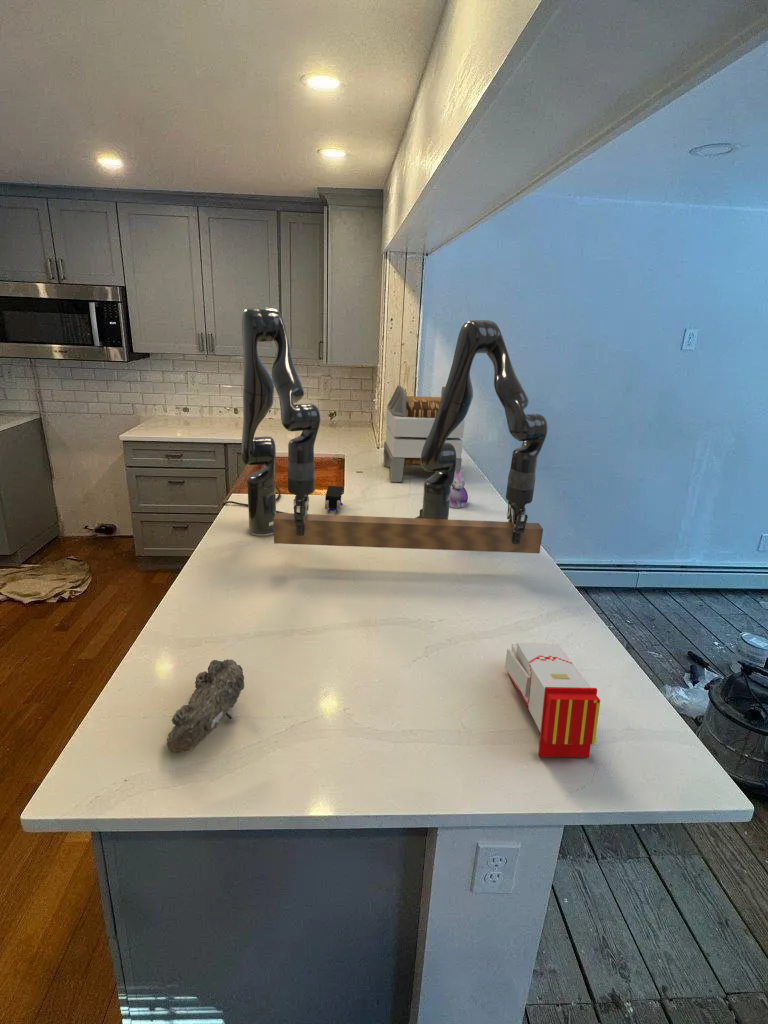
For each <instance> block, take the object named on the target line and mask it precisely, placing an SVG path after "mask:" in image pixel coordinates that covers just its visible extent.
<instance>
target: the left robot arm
mask: <svg viewBox="0 0 768 1024" xmlns="http://www.w3.org/2000/svg"><path fill="white" fill-rule="evenodd" d="M241 335H242V336H241V337H242V348H243V349H242V350H243V379H242V407H243V408H242V410H243V411H242V412H243V413H242V414H243V415H242V420H243V421H242V434H241V445H240V446H241V447H240V452H241V453H240V455H241V460H242V462H243V464H244V465H245V466H262V467H261V468H260V469H258V470H256V471H254V472H252V473H250V474H249V475H248V476H247V478H246V487H247V504H248V506H247V507H248V508H247V510H248V533H249V534H250V535H252V536H256V537H268V536H272V535H274V524H273V519H274V517H275V515H276V511H277V502H278V500H279V499H280V497H281V495H282V492H281V490H280V488H279V487H278V486H277V485H276V457H277V450H276V449H277V447H276V441H275V439H274V438H273V437H272V436H255V434H256V432H257V429H258V427H259V425H260V424H261V422H263V420H264V419H265V417H267V415H268V414H269V412H270V410H271V409H272V406H273V405H274V398H275V397H274V394H275V391H276V393H277V395H278V400H279V407H280V421H281V424H282V426H283V427H284V429H285V430H287V431H288V432H301V433H300V435H299V436H296V437H293V438H292V439H290V440H289V441H288V443H287V455H288V457H287V492H288V493H289V494H290V495H294V498H293V513H294V523H295V524H296V535H297V536H303V535H304V523H305V515H306V514H309V513H308V511H309V507H310V505H309V502H310V496H309V495H312V494H314V493H315V492H316V491H315V490H316V488H315V486H316V485H315V484H316V483H315V481H316V480H315V479H316V477H315V476H316V475H315V473H316V472H315V471H316V468H315V443H316V440H317V439H316V438H317V436H318V431H319V429H320V424H321V413H320V409H319V408H318V406H317V405H315V404H314V403H301V404H296V403H297V402H299V401H301V400H302V399H303V398H304V396H305V390H304V387H303V384H302V381H301V379H300V377H299V375H298V372H297V369H296V366H295V364H294V360H293V359H294V358H293V355H292V351H291V346H290V342H289V337H288V333H287V329H286V325H285V321H284V318H283V316H282V314H281V312H280V311H279V310H278V308H275V307H249V308H245V309H244V311H243V312H242V317H241ZM263 342H264V343H267V342H269V343H270V342H273V343H274V344H275V346H276V354H275V358H274V360H273V363H272V364H273V365H272V368H271V374H270V373H269V371H268V369H267V368H266V366H265V365H264V363H263V362H262V360H261V358H260V356H259V352H258V343H263ZM276 490H277V491H278V496H277V497H276V495H277V494H276ZM298 517H299V518H301V519H298Z"/></svg>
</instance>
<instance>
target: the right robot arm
mask: <svg viewBox="0 0 768 1024" xmlns="http://www.w3.org/2000/svg"><path fill="white" fill-rule="evenodd" d="M504 339H505V338H504V337H503V334H502V331H501V329H500V327H499V325H498V324H497V322H495V321H493V320H489V319H487V320H486V319H470V320H467V321H465V322H464V323H463V325H462V326H461V328H460V330H459V332H458V336H457V340H456V344H455V349H454V354H453V359H452V362H451V367H450V371H449V373H448V378H447V380H446V384H445V386H444V387H445V389H444V392H443V395H442V398H441V401H440V405H439V408H438V411H437V414H436V417H435V420H434V423H433V426H432V428H431V431H430V433H429V435H428V437H427V440H426V442H425V444H424V446H423V449H422V452H421V465H422V466H421V467H422V469H423V470H424V471H426V472H428V473H429V472H430V473H433V472H434V473H433V474H432V475H431V476H429V477H427V478H426V479H425V480H424V482H423V493H422V496H423V497H422V506H421V508H420V509H419V515H418V516H416V517H415V518H422V519H448V520H449V517H450V516H449V514H450V493H451V489H452V484H453V481H454V475H455V468H456V450H455V448H454V446H453V445H452V444H450V443H445V441H446V439H447V438H448V436H449V435H450V434H451V433H452V431H453V430H454V429H455V428H456V427H457V426H458V425H459V424H460V423H461V422H462V421H463V419H464V420H465V418H466V417H467V415H468V412H469V410H470V407H471V405H472V401H473V399H474V388H473V382H472V379H471V368H472V365H473V361H474V359H475V358H476V357H475V356H476V355H477V354H486V356H487V357H488V358H489V360H490V361H491V364H492V366H493V371H494V372H493V387H494V391H495V394H496V396H497V398H498V400H499V402H500V403H501V405H502V407H503V409H504V415H505V419H506V424H507V428H508V432H509V433H510V435H511V437H513V438H514V440H516V441H519V442H522V443H521V445H520V446H517V447H516V448H514V449H513V450H512V454H511V458H510V460H511V461H510V468H509V472H508V477H507V484H506V492H505V499H506V501H507V513H506V514H507V516H506V518H507V520H508V521H507V522H512V524H513V535H512V543H513V544H519V543H520V537H521V533H524V531H525V526H526V523H528V522H527V521H528V518H529V515H528V514H527V508H526V505H527V504H531V503H532V502H533V499H534V492H535V486H536V477H537V476H536V475H537V465H538V458H539V455H540V453H541V450H542V448H543V445H544V444H545V441H546V438H547V434H548V428H549V427H548V426H549V425H548V421H547V419H546V417H545V416H543V414H540V413H531V414H526V412H525V411H524V410H525V409H526V408H527V407H528V405H529V403H530V401H529V397H528V395H527V394H526V393H527V392H526V391H525V389H524V387H523V386H522V384H521V382H520V380H519V378H518V376H517V373H516V372H515V369H514V367H513V364H512V361H511V357H510V355H509V352H508V349H507V346H506V343H505V340H504ZM227 504H234V505H239V506H245V507H248V503H244V502H243V503H242V502H237V501H233V500H228V501H225V502H223V503H222V506H225V505H227ZM276 513H286V512H284V511H280V510H276ZM519 526H520V528H518V527H519Z"/></svg>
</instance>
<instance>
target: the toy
mask: <svg viewBox="0 0 768 1024" xmlns="http://www.w3.org/2000/svg"><path fill="white" fill-rule="evenodd" d="M504 668H505V670H506V671H507V675H508V676H509V678H510V680H511V682H512V683H513V685H514V687H515V688H516V690H517V691H518V693H519V695H520V697H521V698H522V700H523V702H524V703H525V705H526V707H527V708H528V711H529V713H530V715H531V717H532V719H533V721H534V723H535V725H536V727H537V729H538V731H539V743H538V753H537V755H538V757H539V758H590V753H591V746H593V745H595V744H596V738H597V729H598V722H599V713H600V706H601V699H600V698H599V696H598V688H597V687H591V686H590V684H589V683H588V682H587V680H586V679H585V678H584V676H583V675H582V674H581V672H580V671H579V669H578V668H577V667H576V666H575V664H574V663H573V661H572V660H571V659H570V658H569V657H568V655H567V654H566V653H565V651H564V649H563V648H562V647H561V646H560V645H559V643H556V642H555V643H554V642H516V643H511V648H507V649H506V654H505V662H504Z"/></svg>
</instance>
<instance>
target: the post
mask: <svg viewBox="0 0 768 1024" xmlns="http://www.w3.org/2000/svg"><path fill="white" fill-rule="evenodd" d="M298 519H301V518H299V517H298ZM273 524H274V534H273V544H276V545H277V544H278V545H279V544H280V545H305V546H329V547H330V546H331V547H333V546H334V547H358V548H381V549H382V548H383V549H384V548H386V549H410V550H411V549H413V550H434V551H435V550H436V551H438V550H439V551H464V552H492V553H515V554H516V553H517V554H519V553H521V554H523V553H524V554H540V552H541V547H542V541H543V533H544V528H543V526H542V525H541V524H540V522H526V526H525V531H524V533H521V537H520V543H519V544H513V543H512V535H513V524H512V522H508V521H496V520H495V521H494V520H471V519H469V520H468V519H449V518H448V519H422V518H416V517H397V516H396V517H394V516H392V517H391V516H368V515H343V514H342V515H341V514H320V513H319V514H316V513H308V514H306V515H305V523H304V535H303V536H297V535H296V524H295V523H294V512H293V513H290V512H285V513H276V515H275V517H274V519H273ZM518 528H520V526H519V527H518Z"/></svg>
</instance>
